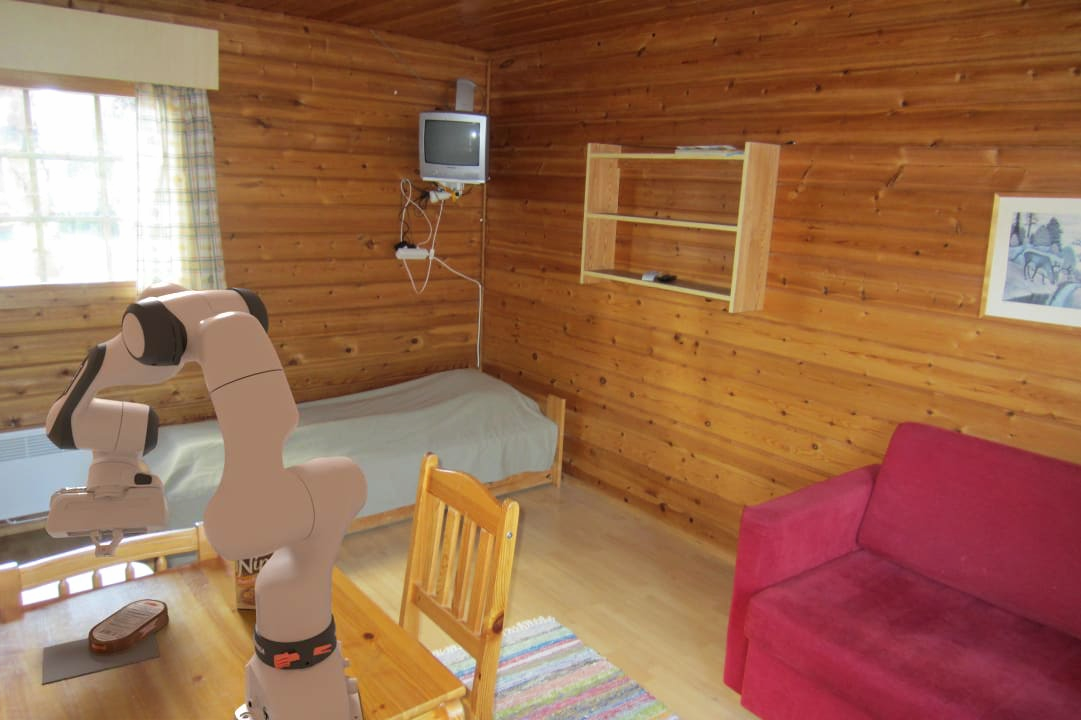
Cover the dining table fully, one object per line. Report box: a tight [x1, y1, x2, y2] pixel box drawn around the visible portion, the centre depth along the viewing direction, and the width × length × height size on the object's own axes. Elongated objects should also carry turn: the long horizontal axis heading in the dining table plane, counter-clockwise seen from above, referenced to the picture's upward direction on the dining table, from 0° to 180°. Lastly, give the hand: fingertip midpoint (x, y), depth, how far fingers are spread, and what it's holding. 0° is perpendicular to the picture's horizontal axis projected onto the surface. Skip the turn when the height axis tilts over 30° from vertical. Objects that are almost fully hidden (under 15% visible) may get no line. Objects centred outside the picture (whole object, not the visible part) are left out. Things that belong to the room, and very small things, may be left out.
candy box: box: [233, 552, 274, 610], centre depth 154 cm, size 9×4×15 cm, turn 87°
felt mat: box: [41, 632, 160, 685], centre depth 139 cm, size 11×17×1 cm, turn 120°
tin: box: [87, 598, 170, 656], centre depth 144 cm, size 15×3×8 cm
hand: (104, 556), depth 148 cm, fingers closed
